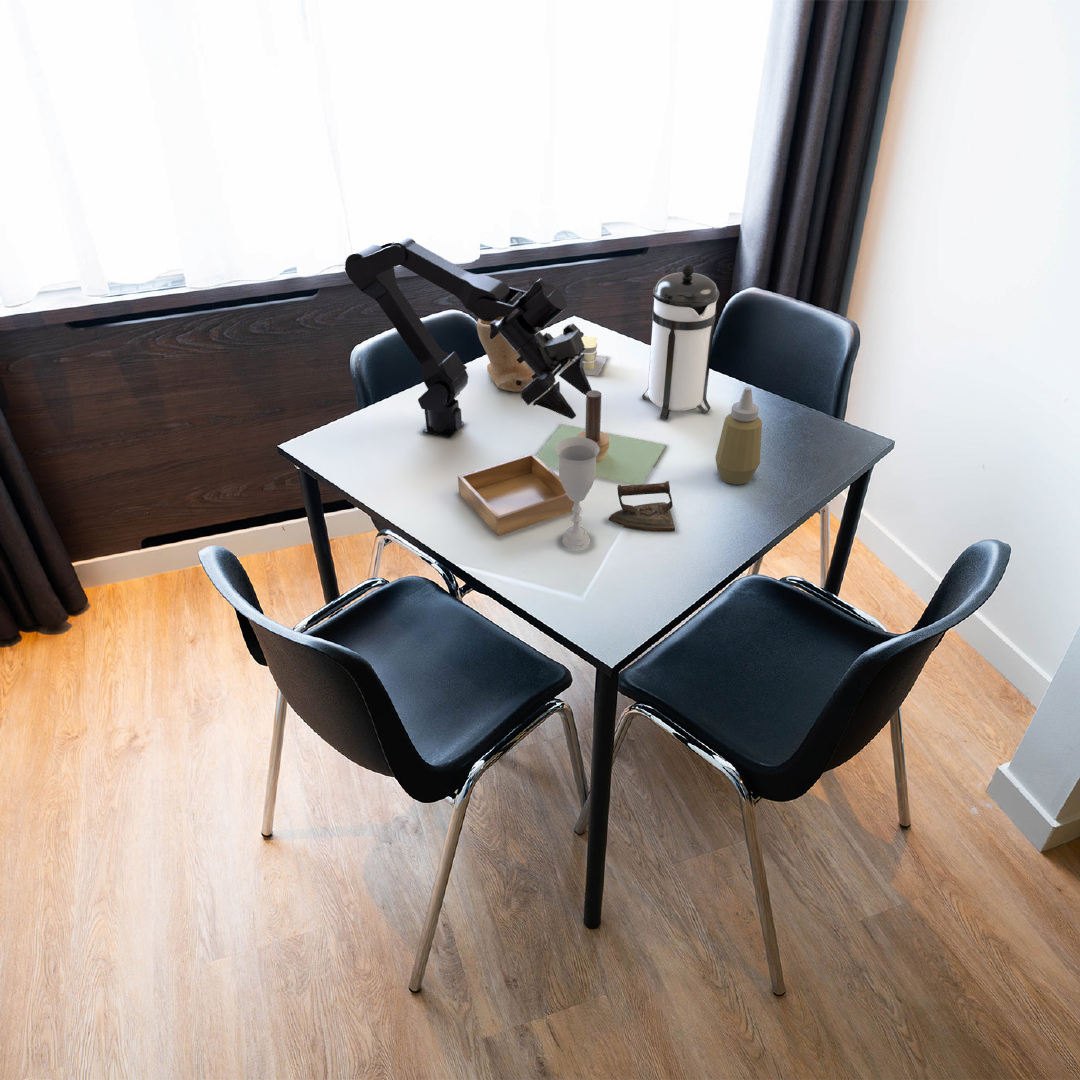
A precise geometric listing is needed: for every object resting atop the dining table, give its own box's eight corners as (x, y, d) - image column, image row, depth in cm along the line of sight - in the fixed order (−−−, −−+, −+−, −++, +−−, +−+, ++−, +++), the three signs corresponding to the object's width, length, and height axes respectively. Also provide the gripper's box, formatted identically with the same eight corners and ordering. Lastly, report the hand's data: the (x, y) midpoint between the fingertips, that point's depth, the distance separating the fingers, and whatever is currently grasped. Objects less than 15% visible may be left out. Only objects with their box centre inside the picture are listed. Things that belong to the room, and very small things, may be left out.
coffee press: (724, 398, 182) (742, 258, 164) (693, 429, 171) (709, 283, 153) (651, 379, 189) (661, 244, 171) (617, 408, 178) (624, 267, 160)
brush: (580, 465, 159) (581, 403, 152) (571, 448, 164) (572, 388, 157) (613, 460, 160) (615, 399, 153) (603, 444, 165) (605, 384, 158)
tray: (459, 494, 152) (457, 475, 150) (533, 471, 159) (532, 453, 156) (498, 538, 142) (497, 518, 139) (576, 511, 148) (576, 492, 145)
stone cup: (475, 369, 194) (471, 307, 185) (525, 363, 197) (523, 301, 188) (489, 399, 182) (486, 333, 174) (542, 391, 185) (541, 326, 176)
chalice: (553, 530, 143) (553, 438, 132) (593, 528, 144) (596, 435, 133) (558, 556, 137) (558, 462, 127) (599, 554, 138) (602, 459, 127)
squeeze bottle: (760, 469, 158) (774, 381, 147) (754, 492, 152) (769, 402, 141) (716, 462, 160) (728, 375, 150) (709, 484, 154) (720, 395, 143)
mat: (530, 464, 161) (530, 462, 160) (561, 426, 172) (561, 424, 172) (641, 487, 154) (641, 485, 153) (665, 446, 165) (665, 444, 165)
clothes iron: (679, 533, 143) (671, 489, 136) (614, 547, 144) (602, 504, 138) (672, 506, 148) (664, 463, 141) (609, 520, 150) (598, 478, 143)
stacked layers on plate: (570, 354, 201) (570, 332, 197) (607, 357, 199) (608, 335, 195) (560, 371, 193) (560, 349, 190) (598, 376, 191) (599, 353, 188)
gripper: (536, 336, 142) (595, 406, 145) (575, 298, 156) (629, 363, 159) (495, 371, 149) (553, 437, 152) (537, 332, 163) (589, 393, 166)
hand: (583, 406), depth 157 cm, fingers open, 9 cm apart
